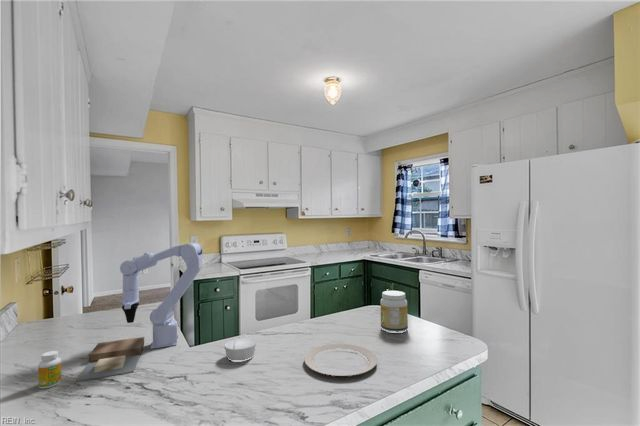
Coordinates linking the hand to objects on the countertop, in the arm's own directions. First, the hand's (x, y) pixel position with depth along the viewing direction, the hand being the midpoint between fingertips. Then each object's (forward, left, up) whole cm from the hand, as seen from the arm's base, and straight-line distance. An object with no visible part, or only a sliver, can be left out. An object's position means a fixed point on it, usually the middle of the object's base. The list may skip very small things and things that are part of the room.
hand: (130, 322), depth 130 cm
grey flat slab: (+3, +20, -9) cm, 23 cm away
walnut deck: (+3, +7, -9) cm, 12 cm away
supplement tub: (-109, +29, -10) cm, 113 cm away
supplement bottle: (+18, +26, -10) cm, 33 cm away
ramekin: (-40, +30, -10) cm, 51 cm away
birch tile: (+3, +20, -7) cm, 22 cm away
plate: (-72, +49, -10) cm, 88 cm away
